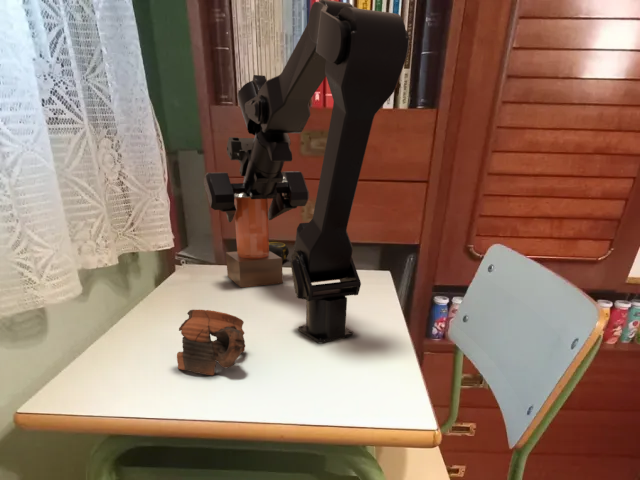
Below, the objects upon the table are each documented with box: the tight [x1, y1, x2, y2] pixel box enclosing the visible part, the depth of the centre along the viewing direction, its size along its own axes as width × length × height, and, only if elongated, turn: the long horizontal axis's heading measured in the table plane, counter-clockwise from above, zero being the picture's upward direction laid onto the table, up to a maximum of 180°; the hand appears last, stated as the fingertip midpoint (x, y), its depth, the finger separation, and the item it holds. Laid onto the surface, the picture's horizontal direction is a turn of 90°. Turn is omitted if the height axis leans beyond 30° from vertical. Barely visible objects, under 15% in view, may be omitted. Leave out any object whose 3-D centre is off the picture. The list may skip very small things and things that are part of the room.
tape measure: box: [269, 241, 290, 262], centre depth 114 cm, size 7×7×4 cm
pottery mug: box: [176, 309, 246, 376], centre depth 64 cm, size 12×9×8 cm
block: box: [225, 250, 283, 289], centre depth 99 cm, size 9×9×5 cm
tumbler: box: [234, 198, 270, 259], centre depth 95 cm, size 6×6×12 cm
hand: (249, 219), depth 96 cm, fingers open, 8 cm apart
